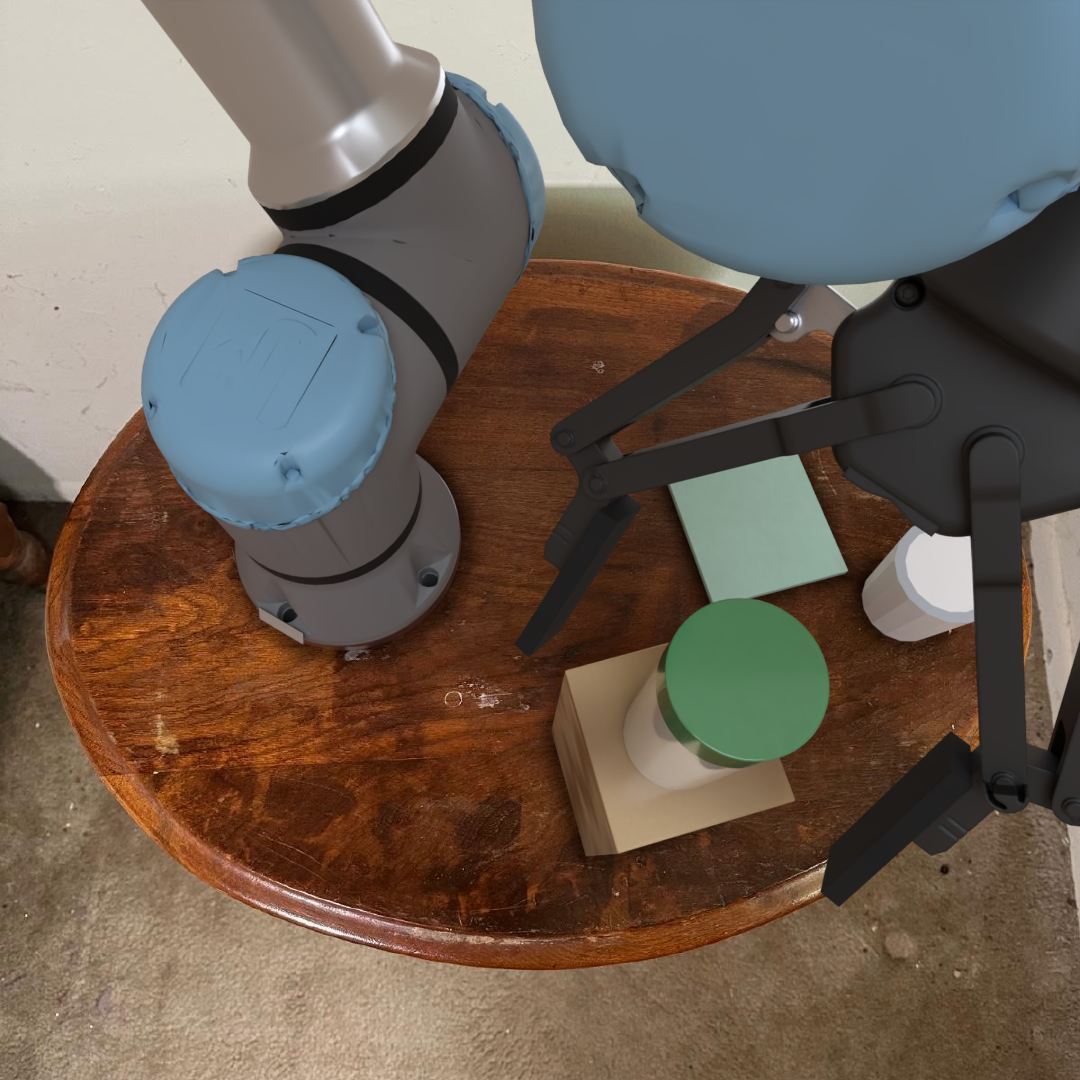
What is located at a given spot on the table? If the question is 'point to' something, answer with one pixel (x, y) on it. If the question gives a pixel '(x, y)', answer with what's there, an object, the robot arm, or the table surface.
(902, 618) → the grey white cylinder
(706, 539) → the mat
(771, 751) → the cylinder
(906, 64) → the robot arm
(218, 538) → the table surface
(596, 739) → the plinth
